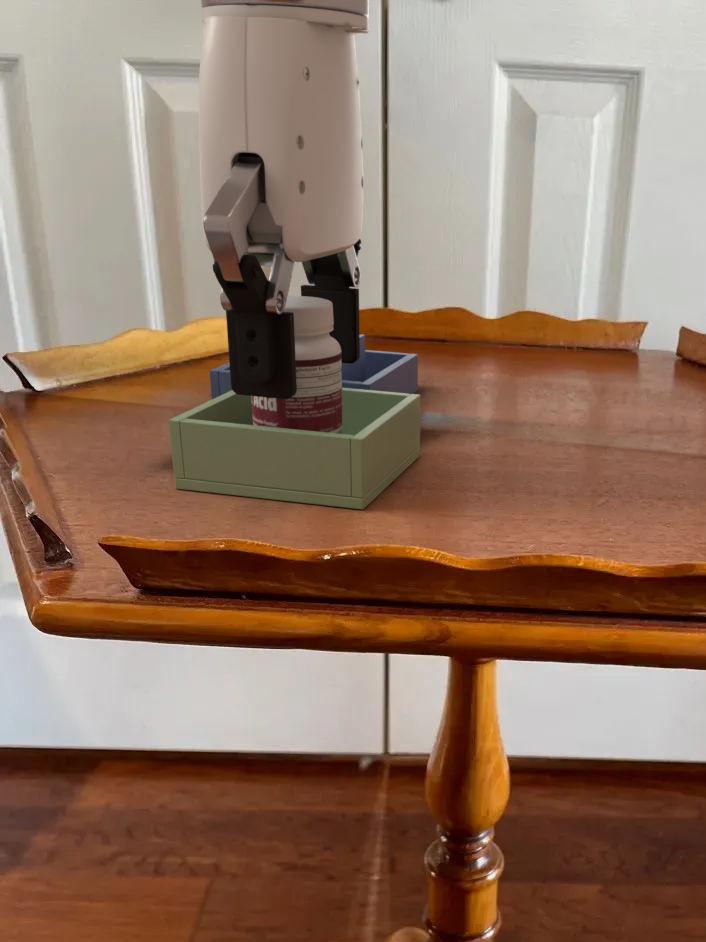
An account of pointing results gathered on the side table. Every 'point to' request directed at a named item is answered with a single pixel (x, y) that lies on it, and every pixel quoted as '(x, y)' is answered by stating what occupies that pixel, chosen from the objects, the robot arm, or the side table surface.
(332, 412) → the pill bottle
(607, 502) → the side table surface
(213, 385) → the bin blue
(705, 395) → the side table surface
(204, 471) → the bin green
